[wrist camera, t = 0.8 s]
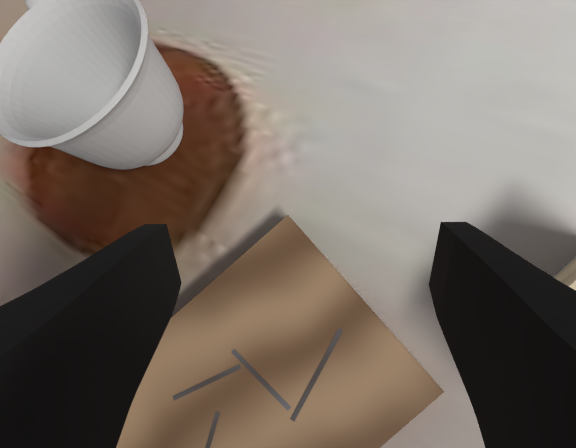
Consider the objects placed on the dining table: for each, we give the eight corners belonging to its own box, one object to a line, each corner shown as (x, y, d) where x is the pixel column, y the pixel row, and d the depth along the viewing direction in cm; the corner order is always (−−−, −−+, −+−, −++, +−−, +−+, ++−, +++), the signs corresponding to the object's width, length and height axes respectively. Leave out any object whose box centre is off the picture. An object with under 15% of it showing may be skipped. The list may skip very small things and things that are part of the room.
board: (440, 388, 22) (444, 391, 20) (184, 610, 22) (170, 628, 21) (292, 221, 27) (287, 214, 25) (87, 402, 27) (70, 405, 26)
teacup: (167, 34, 35) (88, -72, 26) (243, 142, 30) (177, 56, 21) (68, 110, 36) (-44, 32, 27) (124, 229, 30) (9, 184, 21)
